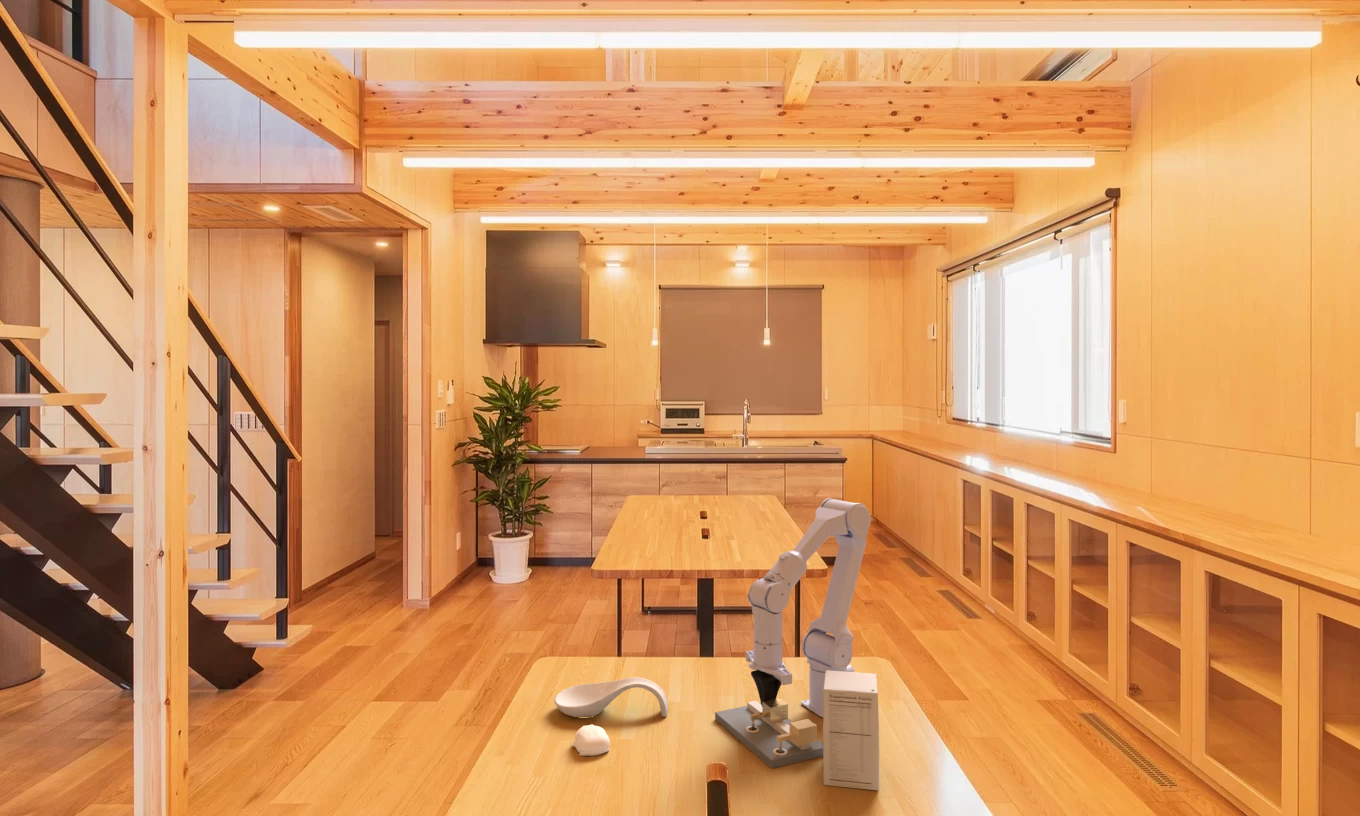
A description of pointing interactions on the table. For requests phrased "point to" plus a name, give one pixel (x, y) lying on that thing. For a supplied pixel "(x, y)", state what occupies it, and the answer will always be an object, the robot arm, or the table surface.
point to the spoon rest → (603, 696)
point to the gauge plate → (772, 736)
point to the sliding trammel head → (771, 711)
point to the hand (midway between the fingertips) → (767, 707)
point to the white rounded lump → (591, 740)
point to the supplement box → (851, 730)
